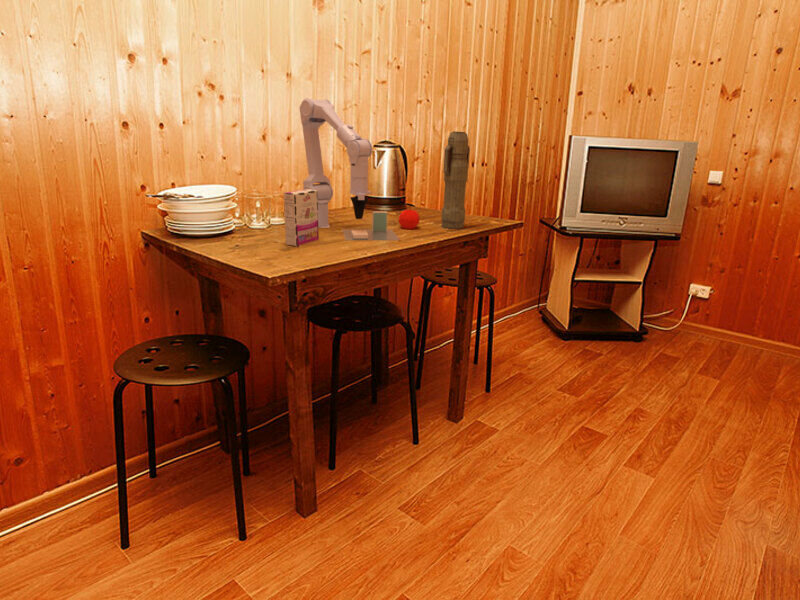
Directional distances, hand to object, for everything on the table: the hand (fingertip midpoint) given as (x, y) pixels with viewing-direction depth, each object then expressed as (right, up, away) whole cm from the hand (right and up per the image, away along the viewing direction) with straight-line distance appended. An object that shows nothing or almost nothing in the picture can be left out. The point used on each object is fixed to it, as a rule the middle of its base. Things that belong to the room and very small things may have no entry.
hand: (358, 218), depth 182 cm
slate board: (+4, -5, +3) cm, 7 cm away
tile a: (0, -5, +2) cm, 5 cm away
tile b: (+7, -3, +9) cm, 11 cm away
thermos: (+34, 0, +25) cm, 42 cm away
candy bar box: (-17, -9, -10) cm, 22 cm away
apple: (+17, -2, +17) cm, 25 cm away
